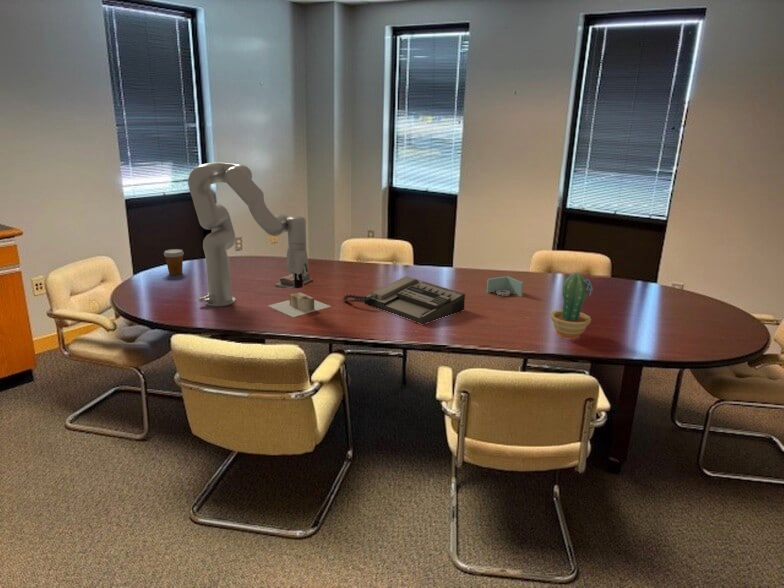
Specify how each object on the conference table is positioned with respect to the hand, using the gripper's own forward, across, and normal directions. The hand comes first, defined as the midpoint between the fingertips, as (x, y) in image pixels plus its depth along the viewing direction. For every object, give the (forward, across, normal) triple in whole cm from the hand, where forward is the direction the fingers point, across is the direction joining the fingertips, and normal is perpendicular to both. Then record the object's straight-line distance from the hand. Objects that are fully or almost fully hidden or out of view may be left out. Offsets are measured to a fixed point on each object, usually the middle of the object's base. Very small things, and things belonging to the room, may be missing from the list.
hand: (298, 287), depth 241 cm
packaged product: (+10, -31, +19) cm, 38 cm away
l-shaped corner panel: (+10, +49, +84) cm, 98 cm away
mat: (+9, 0, 0) cm, 9 cm away
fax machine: (+10, +28, +34) cm, 45 cm away
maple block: (+6, -4, 0) cm, 7 cm away
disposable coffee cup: (+9, -84, -17) cm, 86 cm away
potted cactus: (+9, +96, +59) cm, 113 cm away
